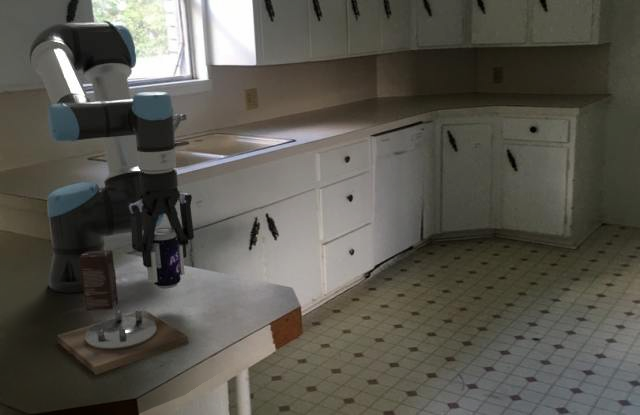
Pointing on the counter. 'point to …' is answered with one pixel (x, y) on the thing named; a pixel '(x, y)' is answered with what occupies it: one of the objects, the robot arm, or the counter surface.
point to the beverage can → (166, 257)
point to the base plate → (110, 360)
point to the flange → (121, 332)
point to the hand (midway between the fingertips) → (166, 276)
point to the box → (98, 279)
